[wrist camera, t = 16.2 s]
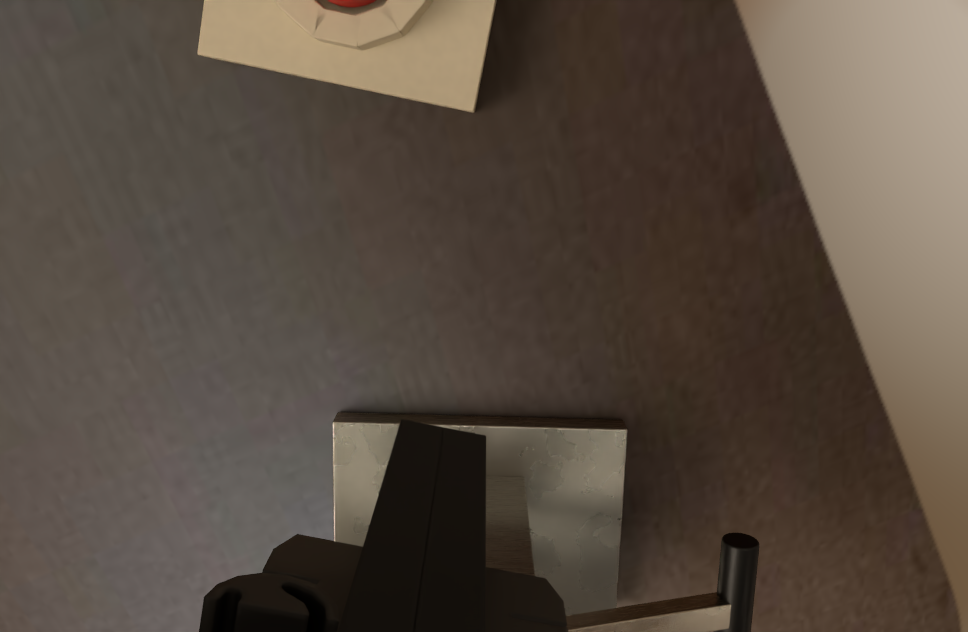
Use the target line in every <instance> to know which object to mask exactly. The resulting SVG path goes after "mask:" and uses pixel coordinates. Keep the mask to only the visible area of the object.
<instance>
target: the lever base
mask: <svg viewBox="0 0 968 632" xmlns="http://www.w3.org/2000/svg"><path fill="white" fill-rule="evenodd" d="M401 419H403V420H408V421H414V422H419V423H424V424H429V425H434V426H439V427H444V428H449V429H455V430H460V431H465V432H470V433H475V434H480V435H485V436H486V567H489V568H494V569H499V570H504V571H510V572H515V573H520V574H526V575H531V576H536V577H542V578H546V579H547V580H548V582H549V583H550V584H551V586H552V587H553V588H554V589H555V591H556V592H557V593H558V594H559V596H560V597H561V598H562V600H563V602H564V608H565V614H566V616H567V615H573V614H580V613H586V612H593V611H599V610H605V609H612V608H616V606H617V590H618V574H619V559H620V543H621V528H622V512H623V497H624V481H625V466H626V450H627V434H628V430H627V428H626V425H625V423H624V421H623V420H618V419H580V418H542V417H504V416H466V415H428V414H390V413H352V412H338V413H337V415H336V417H335V419H334V421H333V506H334V541H336V542H341V543H347V544H352V545H357V546H363V545H364V542H365V538H366V535H367V532H368V528H369V525H370V522H371V518H372V515H373V512H374V508H375V505H376V502H377V498H378V495H379V492H380V488H381V485H382V482H383V478H384V475H385V471H386V468H387V465H388V461H389V458H390V455H391V451H392V448H393V445H394V441H395V438H396V435H397V431H398V428H399V425H400V421H401Z"/></svg>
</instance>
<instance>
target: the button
mask: <svg viewBox="0 0 968 632" xmlns="http://www.w3.org/2000/svg"><path fill="white" fill-rule="evenodd" d="M328 1H329V2H331V3H334V4H336V5H339V6H344V7H360V6H364V5H368V4H370V3H372V2H374V1H376V0H328Z"/></svg>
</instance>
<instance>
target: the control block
mask: <svg viewBox="0 0 968 632" xmlns="http://www.w3.org/2000/svg"><path fill="white" fill-rule="evenodd" d="M496 1H497V0H376V1H374V2H372V3H370V4H368V5H364V6H360V7H344V6H339V5H336V4H334V3H331V2H329V1H328V0H204V7H203V15H202V22H201V30H200V38H199V46H198V55H201V56H205V57H209V58H213V59H217V60H222V61H227V62H232V63H237V64H241V65H246V66H251V67H256V68H260V69H265V70H270V71H275V72H280V73H284V74H289V75H294V76H299V77H304V78H308V79H313V80H318V81H323V82H327V83H332V84H337V85H342V86H347V87H351V88H356V89H361V90H366V91H371V92H375V93H380V94H385V95H390V96H395V97H399V98H404V99H409V100H414V101H418V102H423V103H428V104H433V105H438V106H442V107H447V108H452V109H457V110H462V111H466V112H471V113H474V112H475V108H476V103H477V98H478V93H479V87H480V82H481V77H482V72H483V67H484V62H485V57H486V52H487V47H488V42H489V36H490V31H491V26H492V21H493V16H494V11H495V6H496Z"/></svg>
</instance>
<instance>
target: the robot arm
mask: <svg viewBox="0 0 968 632" xmlns="http://www.w3.org/2000/svg"><path fill="white" fill-rule="evenodd" d="M566 627H567V620H566V614H565V608H564V602H563V600H562V598H561V597H560V596H559V594H558V593H557V592H556V591H555V589H554V588H553V587H552V586H551V584H550V583H549V582H548V580H547V579H546V578H542V577H536V576H531V575H526V574H520V573H515V572H510V571H504V570H499V569H494V568H489V567H486V436H485V435H480V434H475V433H470V432H465V431H460V430H455V429H449V428H444V427H439V426H434V425H429V424H424V423H419V422H414V421H408V420H403V419H401V421H400V425H399V428H398V431H397V435H396V438H395V441H394V445H393V448H392V451H391V455H390V458H389V461H388V465H387V468H386V471H385V475H384V478H383V482H382V485H381V488H380V492H379V495H378V498H377V502H376V505H375V508H374V512H373V515H372V518H371V522H370V525H369V528H368V532H367V535H366V538H365V542H364V545H363V546H357V545H352V544H347V543H341V542H336V541H331V540H325V539H320V538H315V537H309V536H304V535H299V534H297V535H295V536H294V537H292V538H290V539H289V540H287V541H286V542H284V543H282V544H281V545H279V546H278V547H276V548H275V549H273V551H272V553H271V555H270V557H269V559H268V561H267V563H266V565H265V567H264V569H263V572H262V573H257V574H250V575H242V576H237V577H234V578H232V579H229V580H227V581H224V582H222V583H219V584H217V585H216V586H215V587H214V588H213V589H212V590H211V591H210V592H209V593H208V594H207V595H206V596H205V597H204V602H203V609H202V616H201V622H200V629H199V632H568V628H566Z"/></svg>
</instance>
